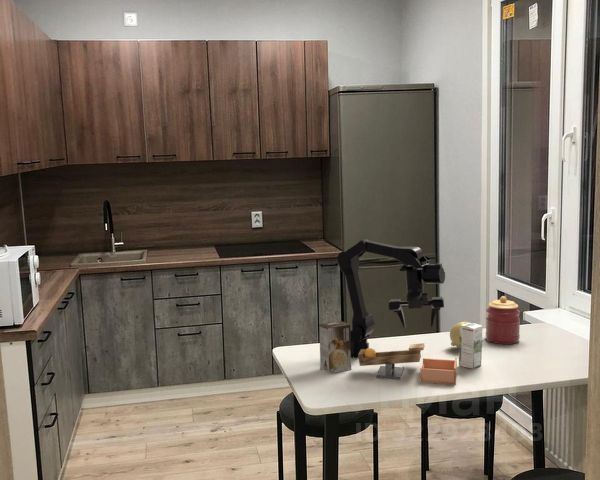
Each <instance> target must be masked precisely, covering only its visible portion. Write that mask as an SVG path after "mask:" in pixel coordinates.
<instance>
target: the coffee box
mask: <svg viewBox="0 0 600 480" xmlns="http://www.w3.org/2000/svg"><path fill="white" fill-rule="evenodd" d="M318 328H319V360H320V361H319V365H320V370H322V371H323V372H325V373H327V374H330V375H331V374H335V373H339V372H345V371H349V370H352V357H351V333H350V332H351V324H350V323H347V322H344V321H342V320H339V321H334V322H333V321H331V322H327V323H321V324H320V323H319V327H318Z"/></svg>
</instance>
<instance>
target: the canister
mask: <svg viewBox="0 0 600 480" xmlns="http://www.w3.org/2000/svg"><path fill="white" fill-rule="evenodd" d="M518 308H519V305H518V304H517V303H516V302H515V301H512V300H509V299H507V296H504V295H502V296H501V297H500V298H499V299H495V300H492V301H490V302H489V303H488V308H486V309H485V312H486V315H487V316H486V317H485V321H486V322H485V339H486V340H487V341H488V342H491V343H494V344H499V345H500V344H501V345H511V344H517V343H519V341H520V338H521V334H520V324H521V323H520V322H521V318H520V314H521V310H520V309H518Z"/></svg>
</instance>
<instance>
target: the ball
mask: <svg viewBox="0 0 600 480" xmlns="http://www.w3.org/2000/svg"><path fill="white" fill-rule="evenodd" d="M364 356H365V358H371V357H375V356H376V350H375V349H374V348H372V347H369V348H368V349H366V350H365V352H364Z"/></svg>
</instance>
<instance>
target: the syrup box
mask: <svg viewBox="0 0 600 480" xmlns="http://www.w3.org/2000/svg"><path fill="white" fill-rule="evenodd" d="M483 327H484V326H483V325H481V324H478V323H475V322H474V323H473V322H469V323H467V324H464V325H461V326H460V338H459V347H458V366H460V367H463V368H468V369H472V370H473V369H476V368H478V367H480V366H481V365H482V355H483V353H482V349H483V329H484V328H483Z"/></svg>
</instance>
